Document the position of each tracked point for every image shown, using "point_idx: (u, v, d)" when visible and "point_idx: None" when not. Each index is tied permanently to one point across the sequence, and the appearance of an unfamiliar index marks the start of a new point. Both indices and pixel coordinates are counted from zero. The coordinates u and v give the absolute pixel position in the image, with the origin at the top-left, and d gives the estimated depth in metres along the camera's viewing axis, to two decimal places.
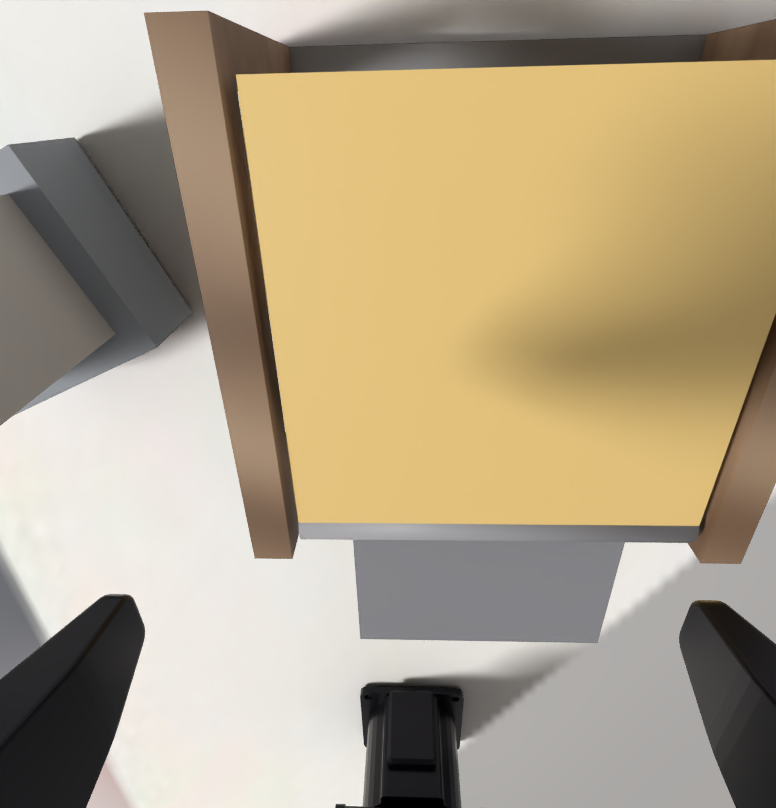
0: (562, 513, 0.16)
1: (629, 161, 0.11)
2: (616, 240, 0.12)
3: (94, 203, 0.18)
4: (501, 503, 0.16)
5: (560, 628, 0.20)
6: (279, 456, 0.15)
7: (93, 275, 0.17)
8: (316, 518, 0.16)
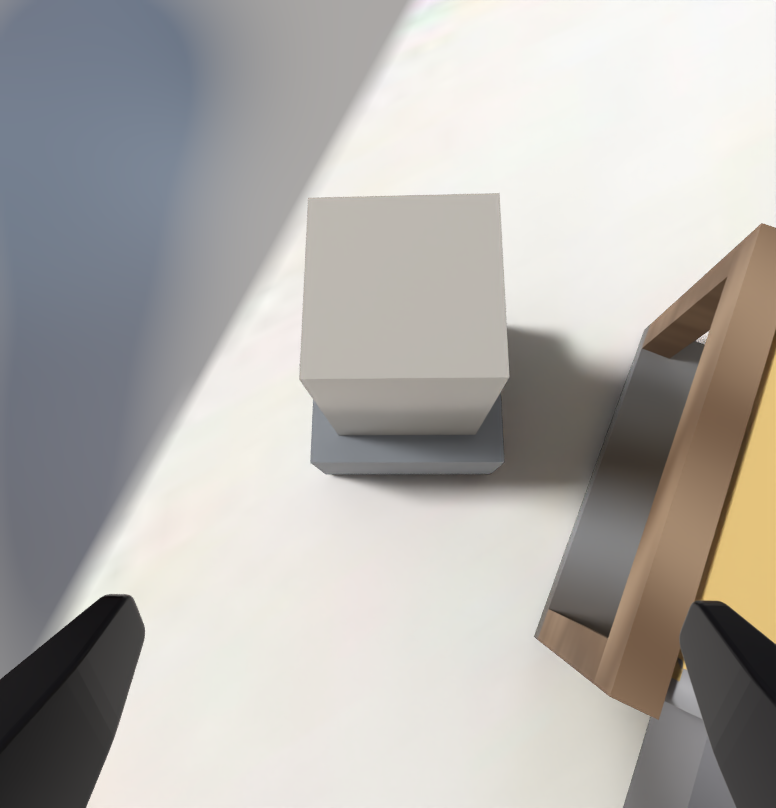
0: None
1: None
2: None
3: None
4: None
5: None
6: (698, 569, 0.14)
7: None
8: None
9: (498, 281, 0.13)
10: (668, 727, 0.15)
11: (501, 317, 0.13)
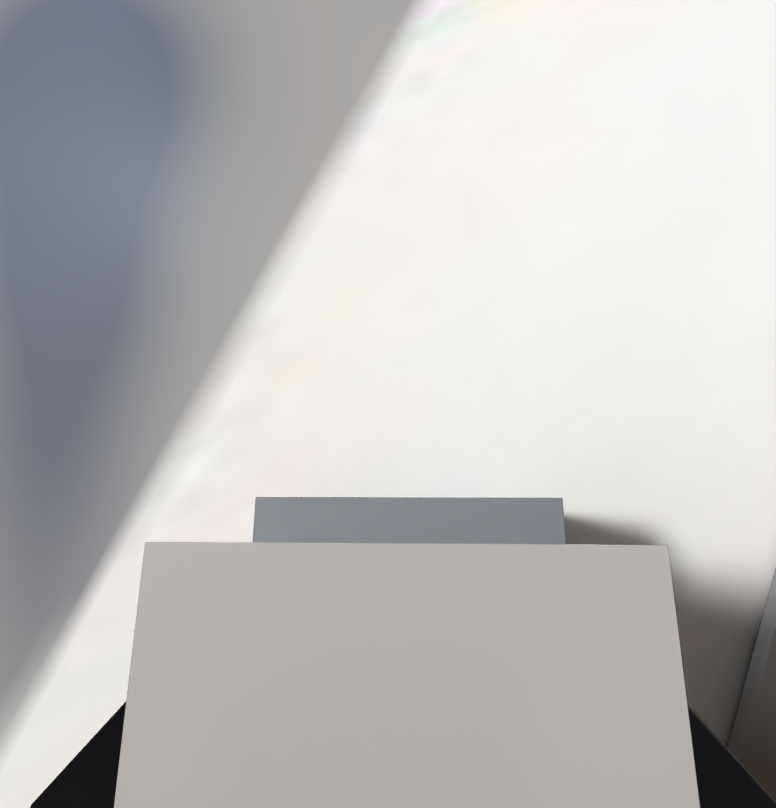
0: None
1: None
2: None
3: None
4: None
5: None
6: None
7: None
8: None
9: None
10: None
11: None
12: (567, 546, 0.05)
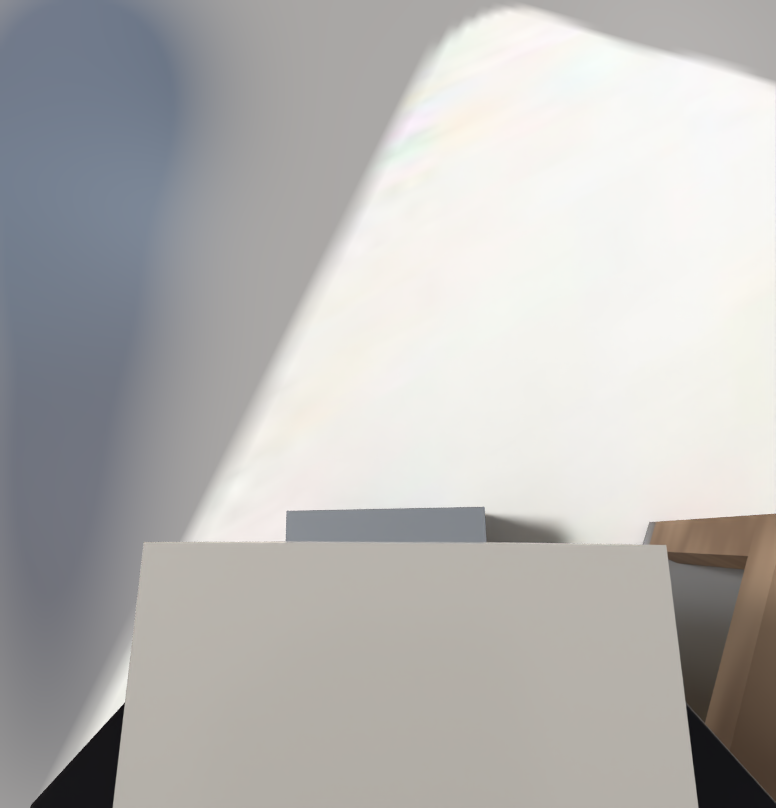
0: None
1: None
2: None
3: None
4: None
5: None
6: None
7: None
8: None
9: None
10: None
11: None
12: (566, 546, 0.05)
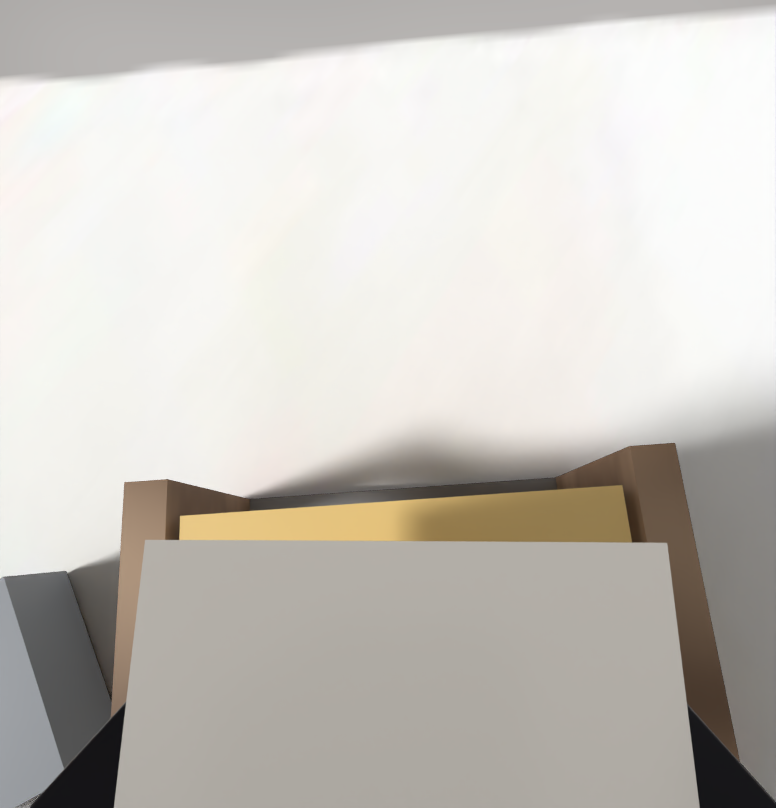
0: None
1: None
2: None
3: (60, 624, 0.20)
4: None
5: None
6: None
7: (30, 694, 0.18)
8: None
9: None
10: None
11: None
12: (567, 543, 0.05)
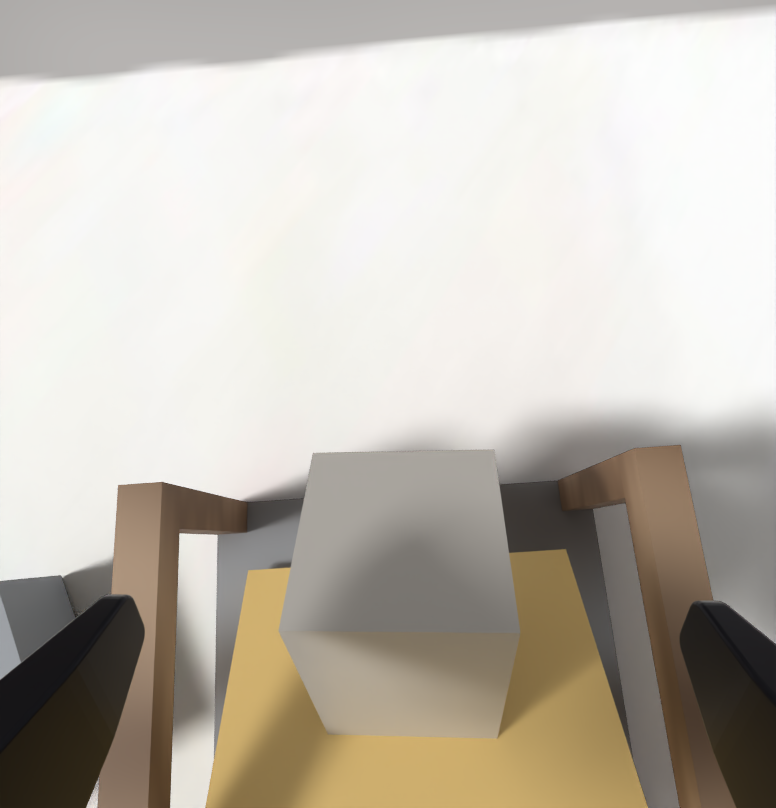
0: None
1: None
2: None
3: (54, 630, 0.20)
4: None
5: None
6: None
7: None
8: None
9: (499, 528, 0.13)
10: None
11: (505, 565, 0.12)
12: (460, 450, 0.14)
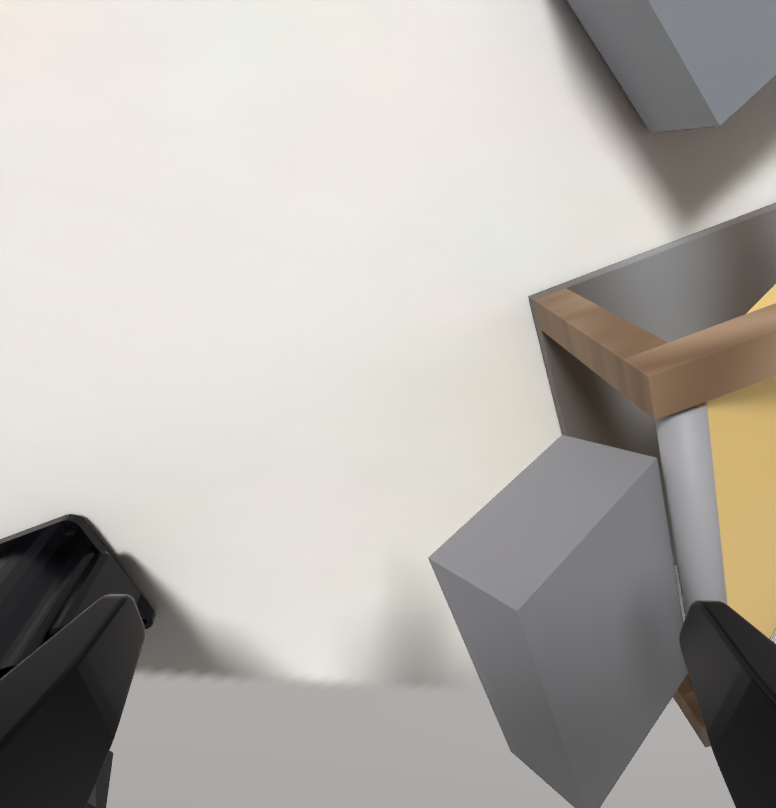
0: (734, 605, 0.17)
1: None
2: None
3: None
4: (735, 557, 0.16)
5: (596, 771, 0.15)
6: None
7: None
8: (712, 415, 0.13)
9: None
10: (577, 459, 0.15)
11: None
12: None
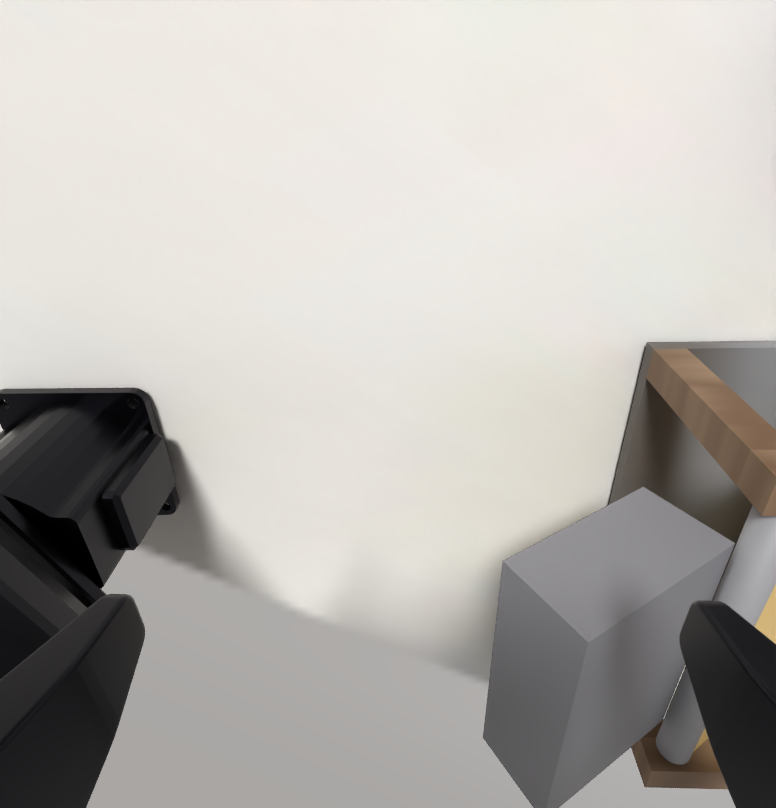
0: None
1: None
2: None
3: None
4: None
5: (566, 783, 0.17)
6: None
7: None
8: None
9: None
10: (657, 516, 0.16)
11: None
12: None
